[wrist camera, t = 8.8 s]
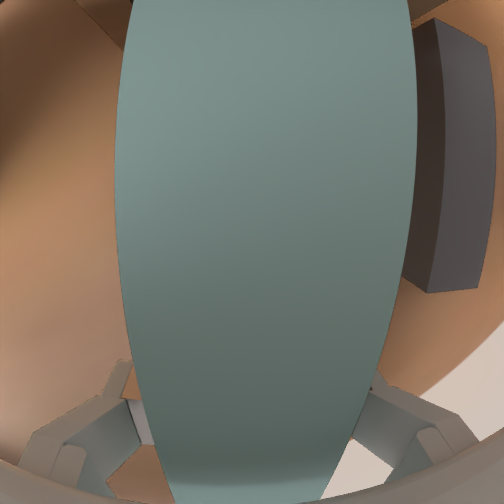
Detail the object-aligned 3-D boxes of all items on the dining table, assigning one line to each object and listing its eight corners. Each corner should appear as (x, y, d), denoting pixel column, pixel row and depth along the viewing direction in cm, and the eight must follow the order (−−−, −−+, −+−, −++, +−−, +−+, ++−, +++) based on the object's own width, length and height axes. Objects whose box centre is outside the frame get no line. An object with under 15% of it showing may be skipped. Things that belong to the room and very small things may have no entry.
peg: (277, 486, 12) (289, 548, 8) (198, 487, 11) (198, 551, 7) (328, 56, 7) (405, -9, 3) (178, 45, 6) (145, -41, 2)
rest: (442, 267, 12) (477, 287, 9) (392, 269, 11) (426, 293, 9) (451, 57, 9) (486, 46, 6) (400, 36, 9) (434, 17, 6)
